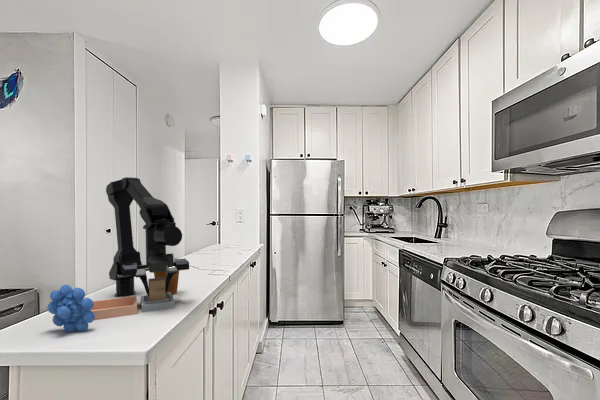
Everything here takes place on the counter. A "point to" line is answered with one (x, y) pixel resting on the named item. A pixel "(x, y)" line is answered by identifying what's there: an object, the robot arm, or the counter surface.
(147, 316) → the counter surface
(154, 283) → the block
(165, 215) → the robot arm
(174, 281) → the disposable coffee cup
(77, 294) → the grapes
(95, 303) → the dish
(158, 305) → the tray
